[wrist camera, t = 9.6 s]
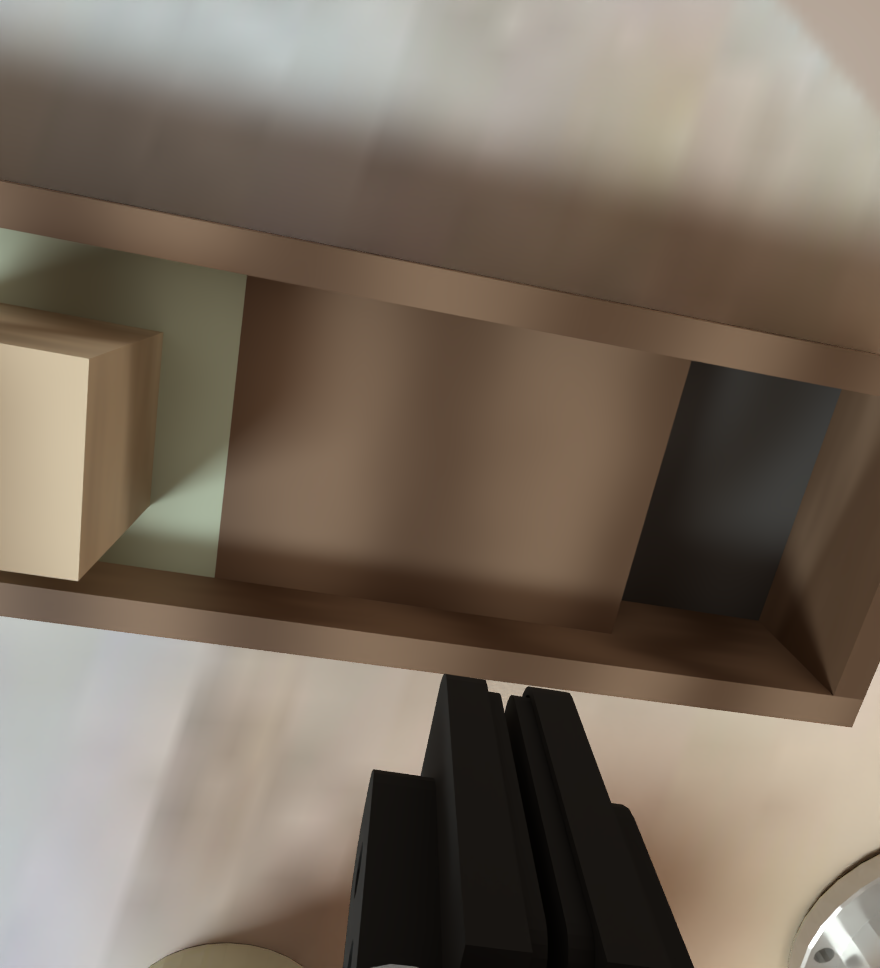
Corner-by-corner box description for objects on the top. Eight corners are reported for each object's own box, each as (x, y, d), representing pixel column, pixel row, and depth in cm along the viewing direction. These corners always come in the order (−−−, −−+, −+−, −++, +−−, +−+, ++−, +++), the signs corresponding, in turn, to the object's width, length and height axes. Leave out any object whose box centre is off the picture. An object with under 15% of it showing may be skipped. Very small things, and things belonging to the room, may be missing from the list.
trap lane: (877, 354, 24) (998, 380, 19) (770, 643, 27) (851, 727, 22) (-322, 114, 20) (-550, 71, 15) (-281, 492, 23) (-457, 556, 18)
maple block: (163, 332, 19) (89, 358, 15) (149, 505, 21) (78, 581, 16) (-35, 296, 19) (-179, 311, 14) (-34, 477, 20) (-165, 547, 15)
